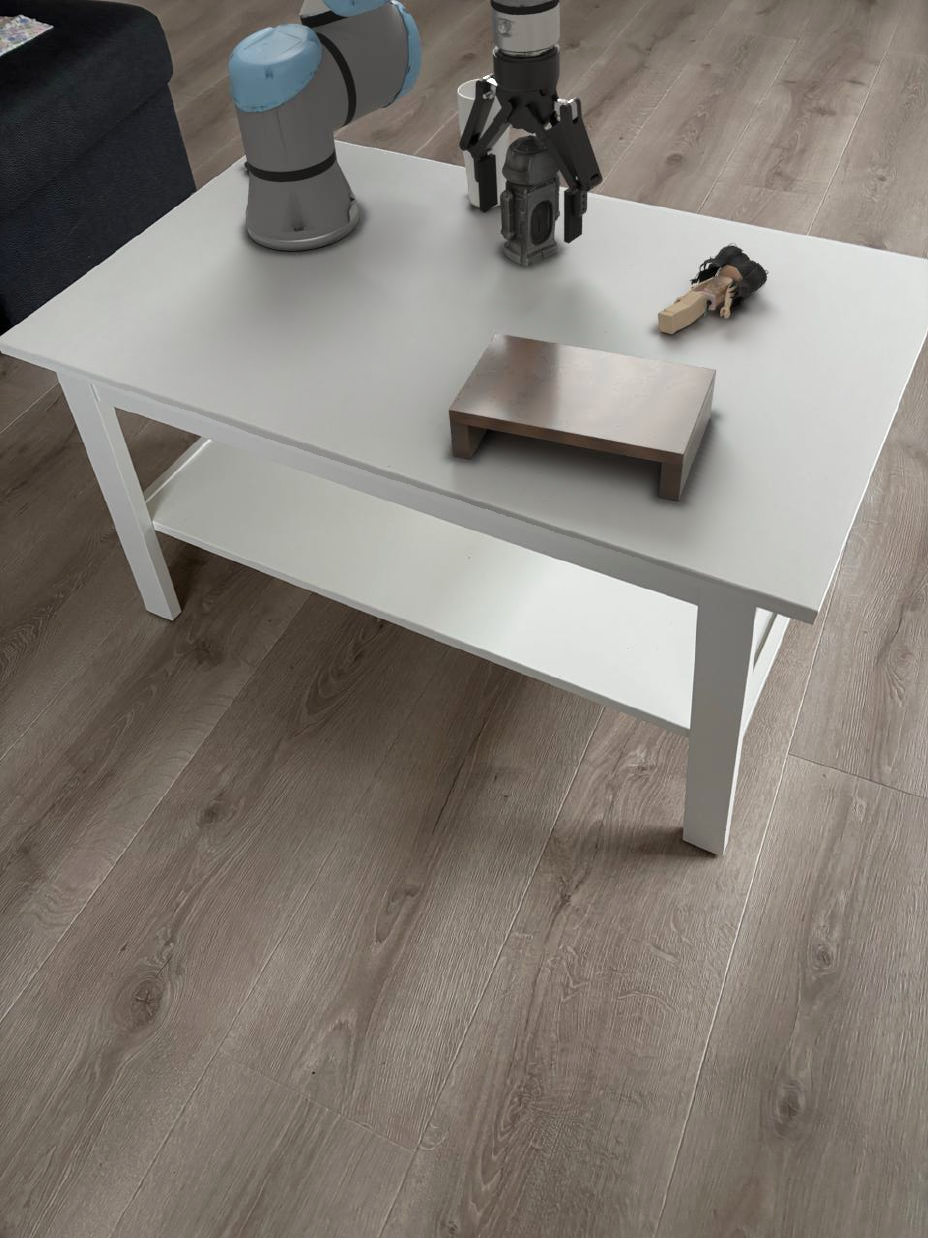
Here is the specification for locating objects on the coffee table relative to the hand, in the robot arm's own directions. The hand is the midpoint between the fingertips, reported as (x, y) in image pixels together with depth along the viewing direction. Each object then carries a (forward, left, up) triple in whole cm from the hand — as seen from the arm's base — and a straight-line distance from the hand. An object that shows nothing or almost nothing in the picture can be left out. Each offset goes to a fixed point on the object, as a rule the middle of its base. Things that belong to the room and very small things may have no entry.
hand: (529, 222), depth 137 cm
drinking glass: (-13, +7, -4) cm, 15 cm away
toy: (0, 0, -4) cm, 4 cm away
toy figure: (+26, +2, -4) cm, 26 cm away
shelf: (+28, -26, -4) cm, 38 cm away
